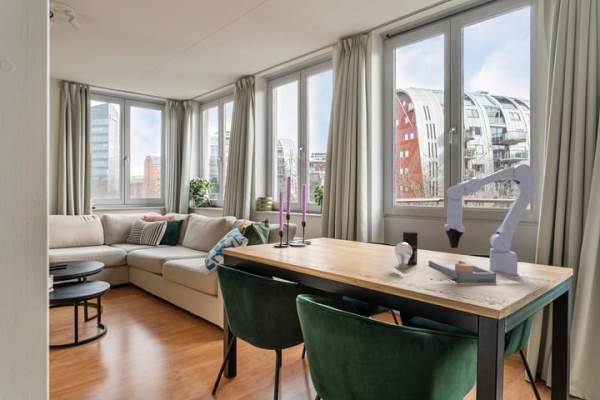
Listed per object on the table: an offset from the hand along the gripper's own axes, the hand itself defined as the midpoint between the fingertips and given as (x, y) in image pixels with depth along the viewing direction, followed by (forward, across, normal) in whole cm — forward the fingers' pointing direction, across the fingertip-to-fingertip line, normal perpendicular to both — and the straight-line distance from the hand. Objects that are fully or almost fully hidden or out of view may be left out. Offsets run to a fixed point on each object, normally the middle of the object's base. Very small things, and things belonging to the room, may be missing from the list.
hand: (454, 247), depth 156 cm
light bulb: (+10, +2, -22) cm, 24 cm away
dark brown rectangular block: (+10, -7, -16) cm, 20 cm away
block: (+8, +19, -5) cm, 21 cm away
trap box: (+9, +9, -2) cm, 13 cm away
